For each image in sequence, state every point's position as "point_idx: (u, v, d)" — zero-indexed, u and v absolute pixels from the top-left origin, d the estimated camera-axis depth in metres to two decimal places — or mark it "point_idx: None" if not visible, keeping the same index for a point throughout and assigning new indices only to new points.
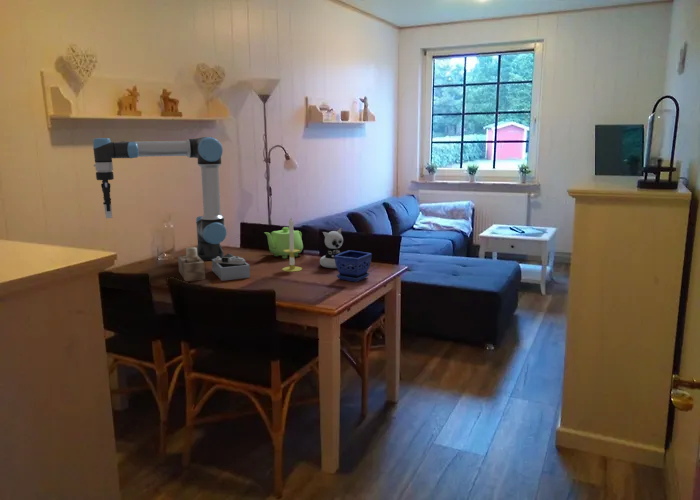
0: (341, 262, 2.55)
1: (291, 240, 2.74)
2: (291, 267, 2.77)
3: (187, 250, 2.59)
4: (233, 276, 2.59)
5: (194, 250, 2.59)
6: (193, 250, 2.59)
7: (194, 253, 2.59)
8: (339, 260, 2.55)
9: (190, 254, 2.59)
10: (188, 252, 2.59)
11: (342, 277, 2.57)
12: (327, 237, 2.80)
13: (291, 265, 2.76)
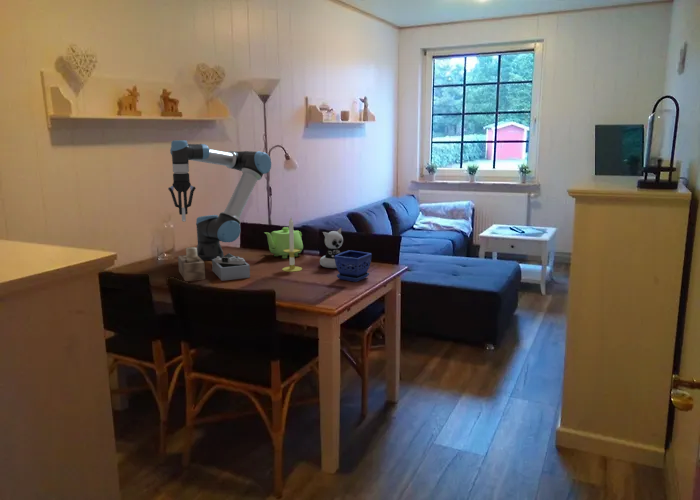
0: (341, 262, 2.55)
1: (291, 240, 2.74)
2: (291, 267, 2.77)
3: (187, 250, 2.59)
4: (233, 276, 2.59)
5: (194, 250, 2.59)
6: (193, 250, 2.59)
7: (194, 253, 2.59)
8: (339, 260, 2.55)
9: (190, 254, 2.59)
10: (188, 252, 2.59)
11: (342, 277, 2.57)
12: (327, 237, 2.80)
13: (291, 265, 2.76)
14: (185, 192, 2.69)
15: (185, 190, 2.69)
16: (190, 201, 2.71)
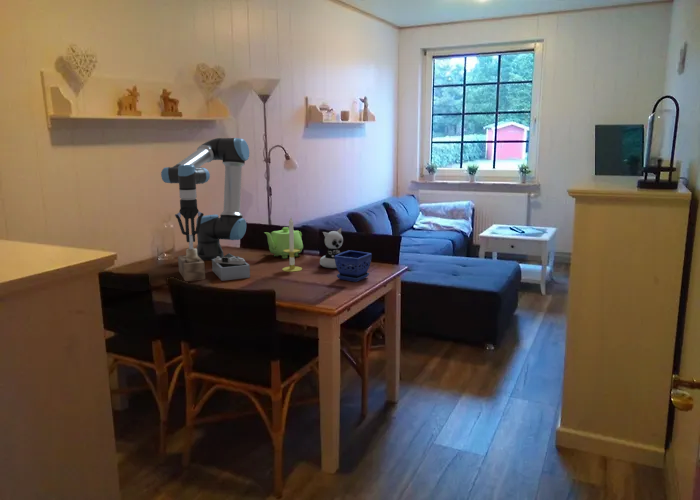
0: (341, 262, 2.55)
1: (291, 240, 2.74)
2: (291, 267, 2.77)
3: (187, 251, 2.59)
4: (233, 276, 2.59)
5: (194, 251, 2.59)
6: (193, 251, 2.59)
7: (194, 254, 2.59)
8: (339, 260, 2.55)
9: (190, 255, 2.59)
10: (188, 253, 2.59)
11: (342, 277, 2.57)
12: (327, 237, 2.80)
13: (291, 265, 2.76)
14: (193, 219, 2.57)
15: (193, 217, 2.56)
16: (198, 228, 2.59)
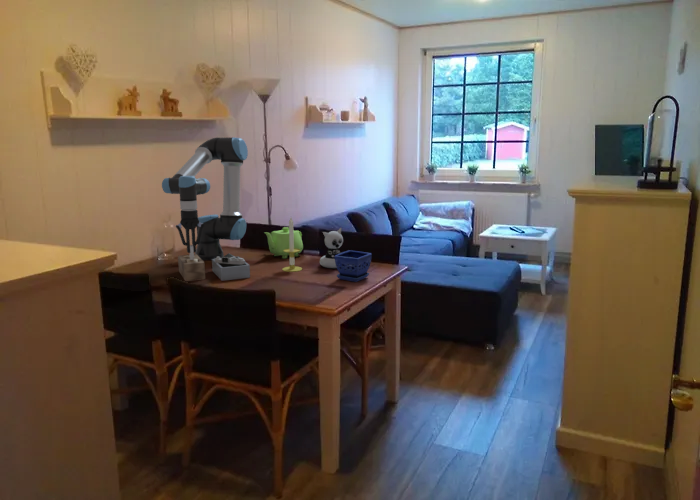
0: (341, 262, 2.55)
1: (291, 240, 2.74)
2: (291, 267, 2.77)
3: (188, 262, 2.60)
4: (233, 276, 2.59)
5: None
6: None
7: None
8: (339, 260, 2.55)
9: None
10: None
11: (342, 277, 2.57)
12: (327, 237, 2.80)
13: (291, 265, 2.76)
14: (193, 230, 2.58)
15: (193, 227, 2.58)
16: (198, 238, 2.60)
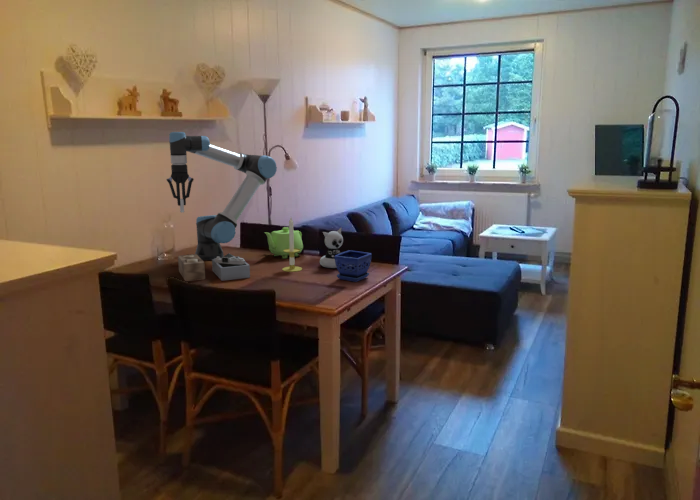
0: (341, 262, 2.55)
1: (291, 240, 2.74)
2: (291, 267, 2.77)
3: (188, 262, 2.60)
4: (233, 276, 2.59)
5: None
6: None
7: None
8: (339, 260, 2.55)
9: None
10: None
11: (342, 277, 2.57)
12: (327, 237, 2.80)
13: (291, 265, 2.76)
14: (183, 183, 2.72)
15: (183, 181, 2.72)
16: (188, 192, 2.74)
